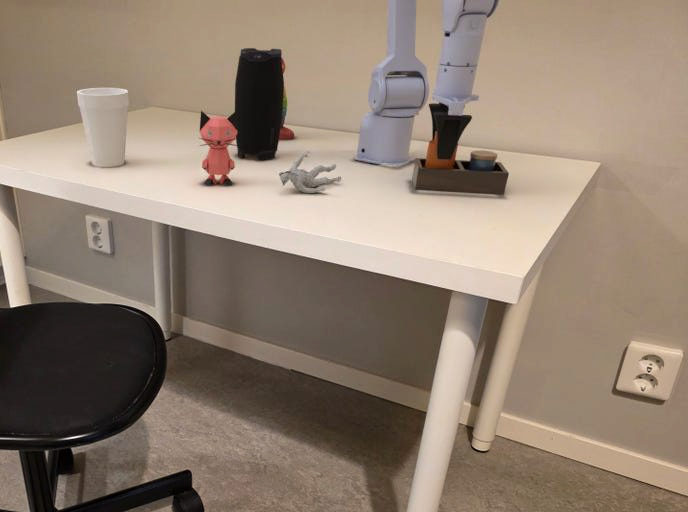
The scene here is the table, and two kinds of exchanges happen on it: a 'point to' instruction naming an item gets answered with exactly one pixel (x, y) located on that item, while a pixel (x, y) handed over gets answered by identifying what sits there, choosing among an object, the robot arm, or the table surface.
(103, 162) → the foam cup
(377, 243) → the table surface
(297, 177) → the soldier figure
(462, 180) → the divided storage box
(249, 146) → the portable speaker
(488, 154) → the blue jar
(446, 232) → the table surface
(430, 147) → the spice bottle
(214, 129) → the cat figurine
